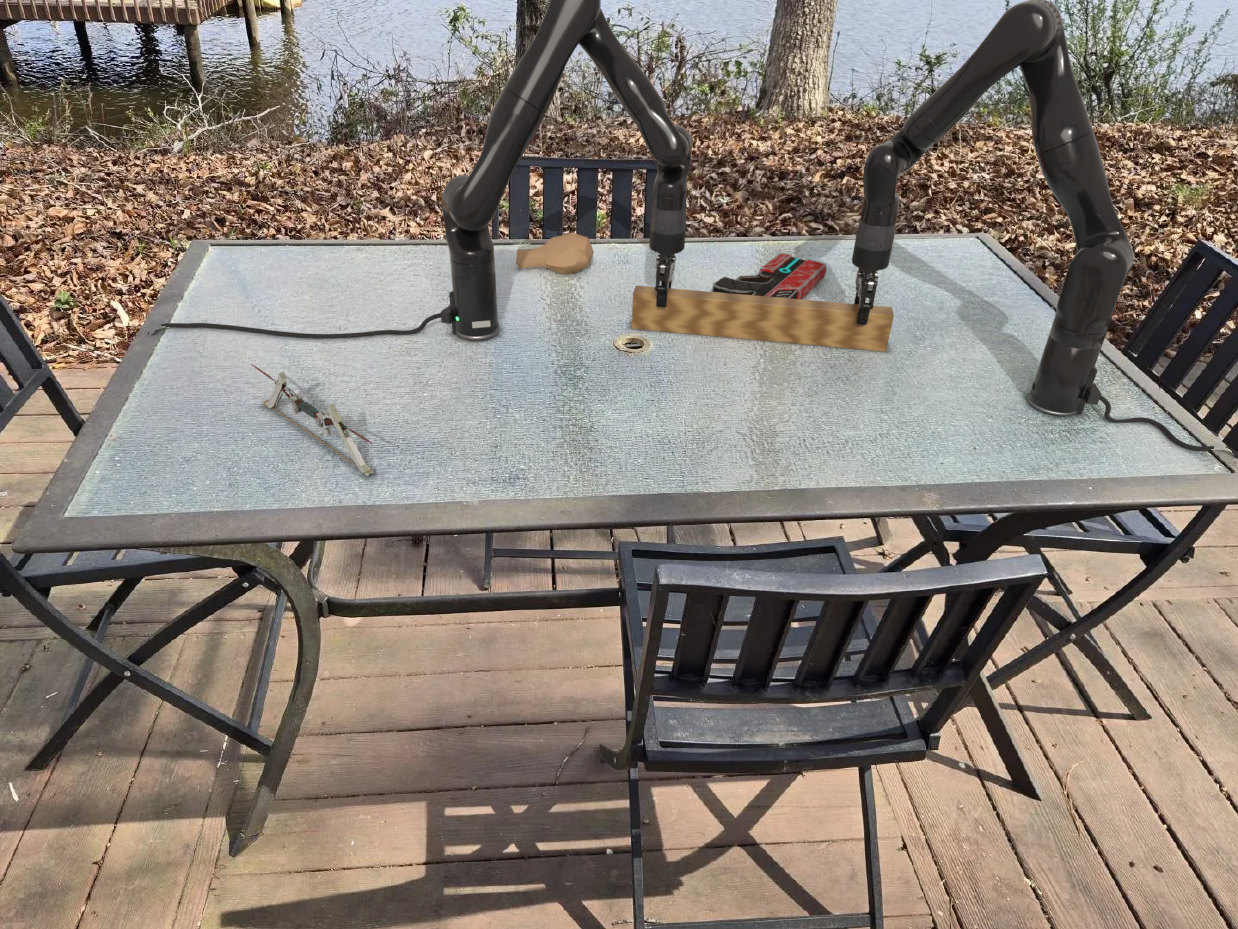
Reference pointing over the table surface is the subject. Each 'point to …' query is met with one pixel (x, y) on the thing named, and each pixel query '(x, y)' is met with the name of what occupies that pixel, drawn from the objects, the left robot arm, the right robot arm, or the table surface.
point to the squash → (559, 254)
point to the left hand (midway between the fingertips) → (663, 299)
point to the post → (762, 318)
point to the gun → (777, 279)
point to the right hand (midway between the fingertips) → (860, 315)
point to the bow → (318, 419)
